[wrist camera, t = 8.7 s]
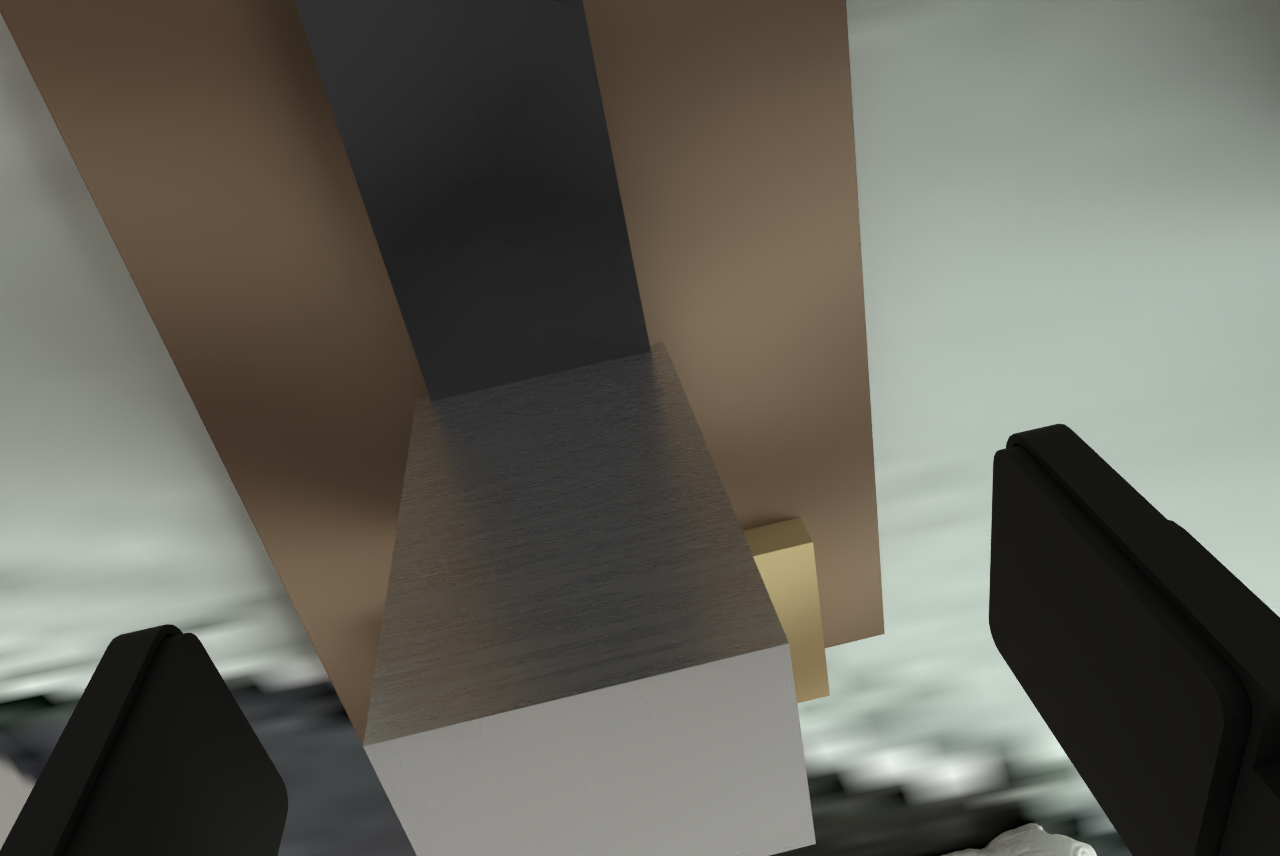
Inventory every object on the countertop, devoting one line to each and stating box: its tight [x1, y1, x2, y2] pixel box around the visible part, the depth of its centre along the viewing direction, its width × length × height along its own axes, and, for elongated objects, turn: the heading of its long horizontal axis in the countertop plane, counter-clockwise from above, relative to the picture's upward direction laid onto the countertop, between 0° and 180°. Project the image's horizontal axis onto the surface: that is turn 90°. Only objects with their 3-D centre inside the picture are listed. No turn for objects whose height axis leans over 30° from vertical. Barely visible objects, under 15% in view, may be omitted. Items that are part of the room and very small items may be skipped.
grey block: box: [294, 0, 816, 856], centre depth 10 cm, size 14×4×7 cm, turn 11°
